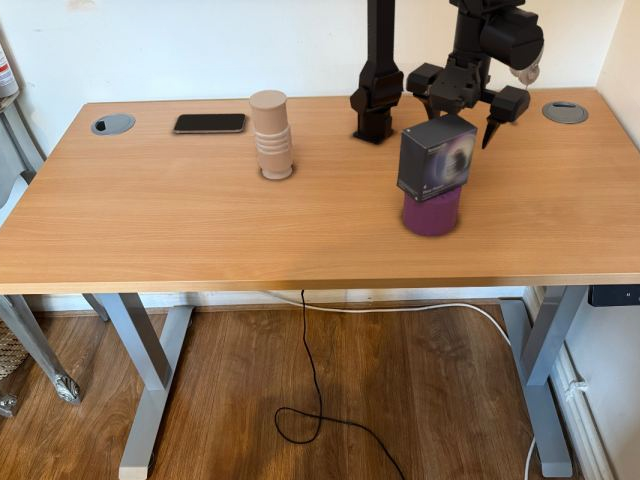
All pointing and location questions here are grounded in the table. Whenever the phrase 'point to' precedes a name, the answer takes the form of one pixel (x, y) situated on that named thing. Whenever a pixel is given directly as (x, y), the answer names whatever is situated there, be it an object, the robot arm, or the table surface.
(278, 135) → the beige ribbed cylinder
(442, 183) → the small box
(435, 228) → the jar
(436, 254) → the table surface
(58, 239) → the table surface
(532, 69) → the headphones
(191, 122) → the smartphone
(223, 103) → the table surface
